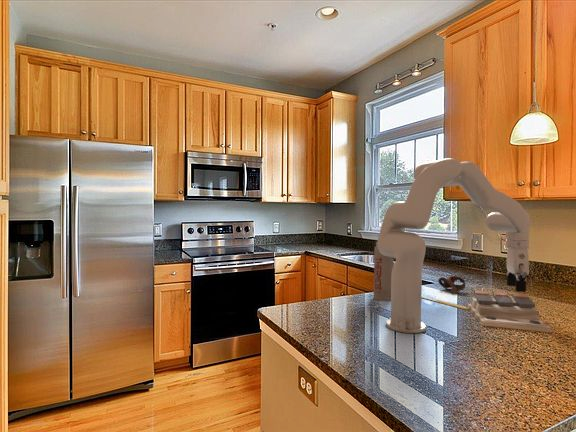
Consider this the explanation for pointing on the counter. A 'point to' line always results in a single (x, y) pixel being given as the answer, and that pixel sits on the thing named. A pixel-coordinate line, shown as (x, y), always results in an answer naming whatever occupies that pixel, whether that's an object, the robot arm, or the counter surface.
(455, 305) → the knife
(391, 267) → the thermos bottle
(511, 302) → the rocker middle
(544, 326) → the switch unit
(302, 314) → the counter surface
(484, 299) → the rocker left
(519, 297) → the rocker right
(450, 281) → the brown looped piece
